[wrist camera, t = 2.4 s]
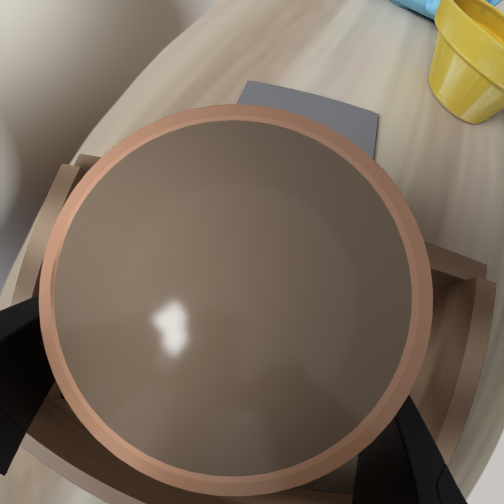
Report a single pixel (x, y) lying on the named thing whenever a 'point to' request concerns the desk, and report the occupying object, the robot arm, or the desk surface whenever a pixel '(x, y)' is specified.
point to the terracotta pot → (235, 300)
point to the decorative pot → (427, 6)
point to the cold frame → (294, 499)
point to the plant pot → (468, 59)
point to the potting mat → (317, 111)
